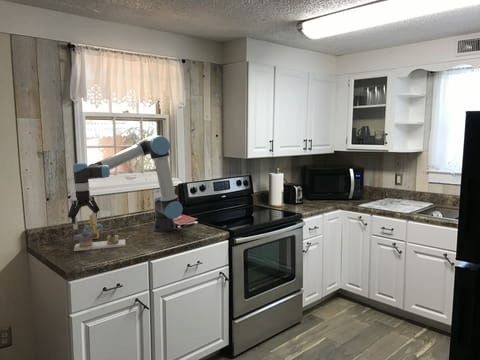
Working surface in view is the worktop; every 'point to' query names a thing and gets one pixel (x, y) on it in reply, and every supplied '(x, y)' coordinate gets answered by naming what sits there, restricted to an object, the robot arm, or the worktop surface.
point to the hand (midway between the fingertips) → (85, 226)
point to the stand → (112, 238)
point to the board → (100, 245)
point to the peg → (86, 243)
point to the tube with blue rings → (93, 227)
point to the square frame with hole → (85, 238)
